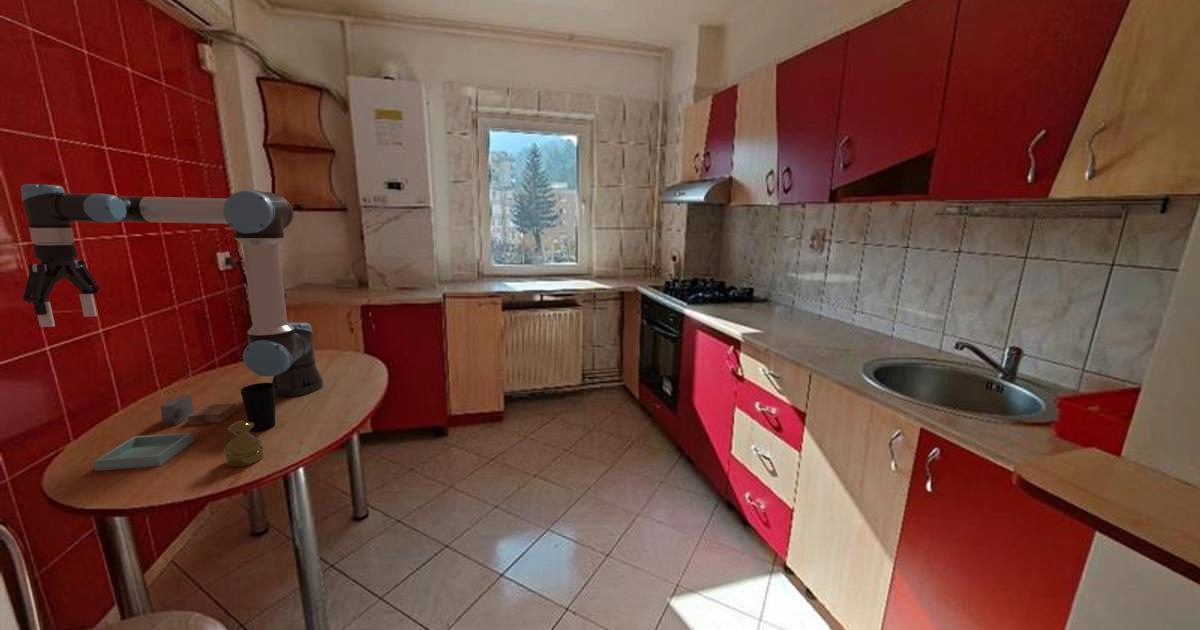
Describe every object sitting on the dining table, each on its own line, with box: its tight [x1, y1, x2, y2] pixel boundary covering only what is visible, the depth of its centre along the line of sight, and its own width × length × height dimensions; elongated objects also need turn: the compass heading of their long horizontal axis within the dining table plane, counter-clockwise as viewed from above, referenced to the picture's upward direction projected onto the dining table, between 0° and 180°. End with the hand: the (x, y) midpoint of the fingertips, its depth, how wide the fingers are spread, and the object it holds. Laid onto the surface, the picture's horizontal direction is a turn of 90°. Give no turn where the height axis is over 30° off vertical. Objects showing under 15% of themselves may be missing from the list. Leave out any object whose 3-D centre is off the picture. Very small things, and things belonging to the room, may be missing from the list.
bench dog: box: [160, 394, 195, 427], centre depth 133 cm, size 3×8×6 cm, turn 13°
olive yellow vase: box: [223, 419, 265, 468], centre depth 112 cm, size 7×8×10 cm
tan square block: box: [187, 402, 237, 426], centre depth 135 cm, size 8×8×3 cm
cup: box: [240, 382, 276, 433], centre depth 129 cm, size 8×8×12 cm
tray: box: [93, 432, 194, 472], centre depth 114 cm, size 13×13×2 cm
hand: (70, 321), depth 129 cm, fingers open, 13 cm apart
